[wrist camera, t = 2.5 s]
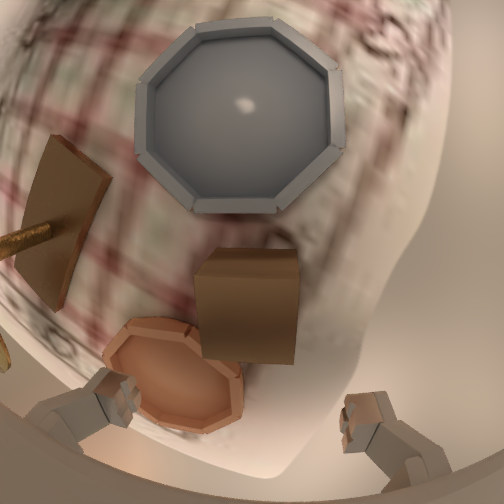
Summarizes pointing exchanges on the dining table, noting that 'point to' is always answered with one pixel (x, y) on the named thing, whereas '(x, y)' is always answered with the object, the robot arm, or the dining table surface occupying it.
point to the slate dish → (239, 116)
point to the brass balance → (54, 223)
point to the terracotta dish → (177, 375)
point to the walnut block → (248, 305)
